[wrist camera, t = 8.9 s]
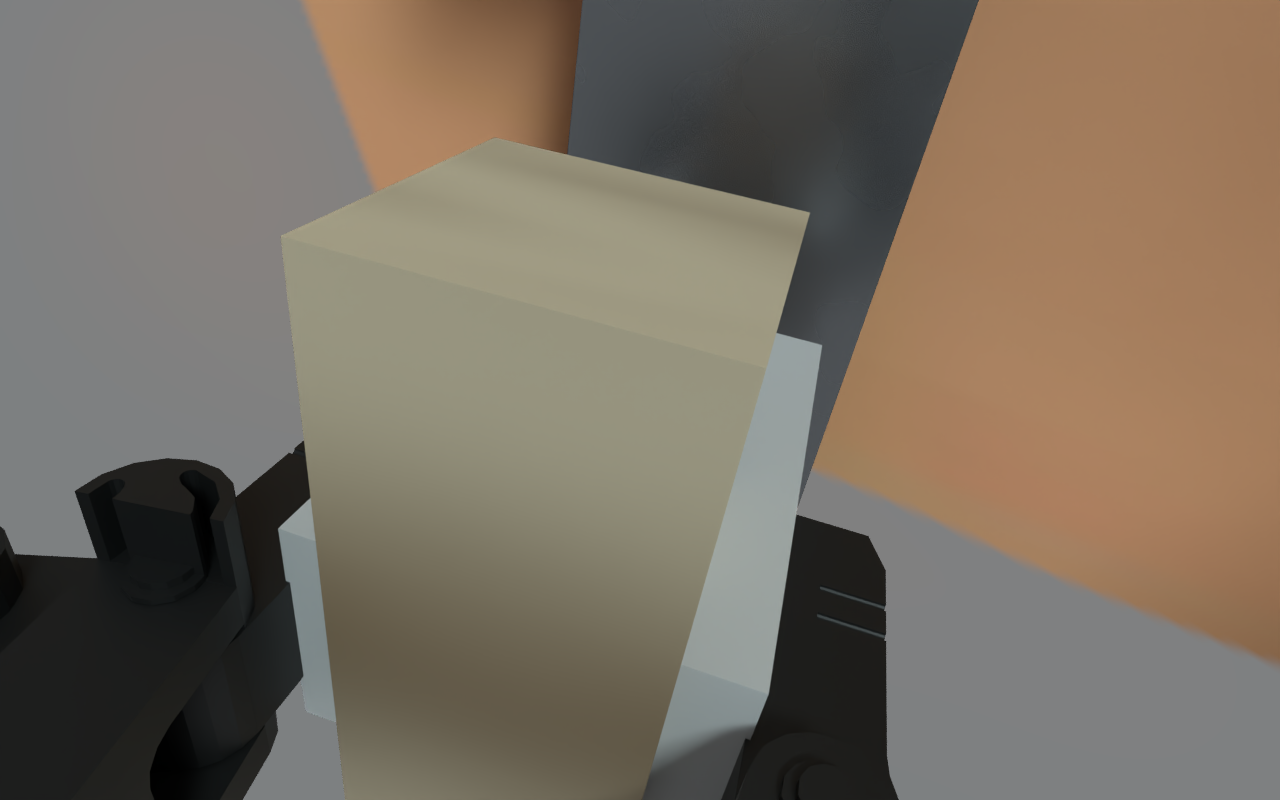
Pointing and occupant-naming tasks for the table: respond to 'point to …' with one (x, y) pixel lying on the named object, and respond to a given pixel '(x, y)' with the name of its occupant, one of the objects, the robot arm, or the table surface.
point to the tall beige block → (586, 377)
